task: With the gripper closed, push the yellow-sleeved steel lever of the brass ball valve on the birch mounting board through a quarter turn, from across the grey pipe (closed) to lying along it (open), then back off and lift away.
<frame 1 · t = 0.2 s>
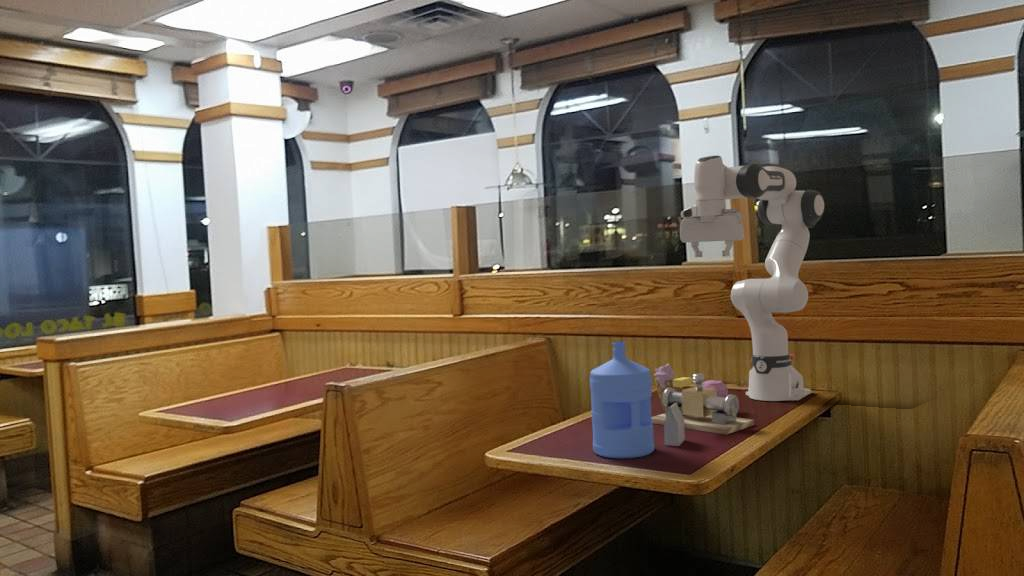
hand: (712, 256, 249), 48 cm above the table, tool pointing down, fingers open, 8 cm apart
cupcake: (713, 412, 255), on the table
ice cream cone: (665, 411, 259), on the table
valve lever: (689, 380, 236), point 13 cm above the table, hinge at 0.0°
water jug: (623, 452, 213), on the table
valve assembly: (700, 423, 239), on the table
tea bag: (674, 443, 219), on the table
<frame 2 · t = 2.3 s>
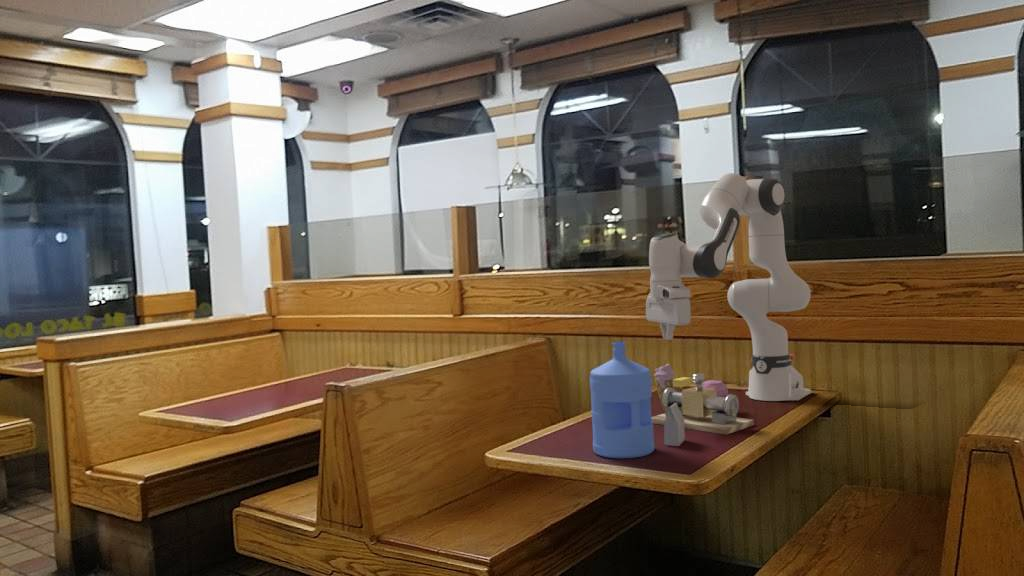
hand: (668, 338, 238), 25 cm above the table, tool pointing down, fingers closed
nothing on the table moved.
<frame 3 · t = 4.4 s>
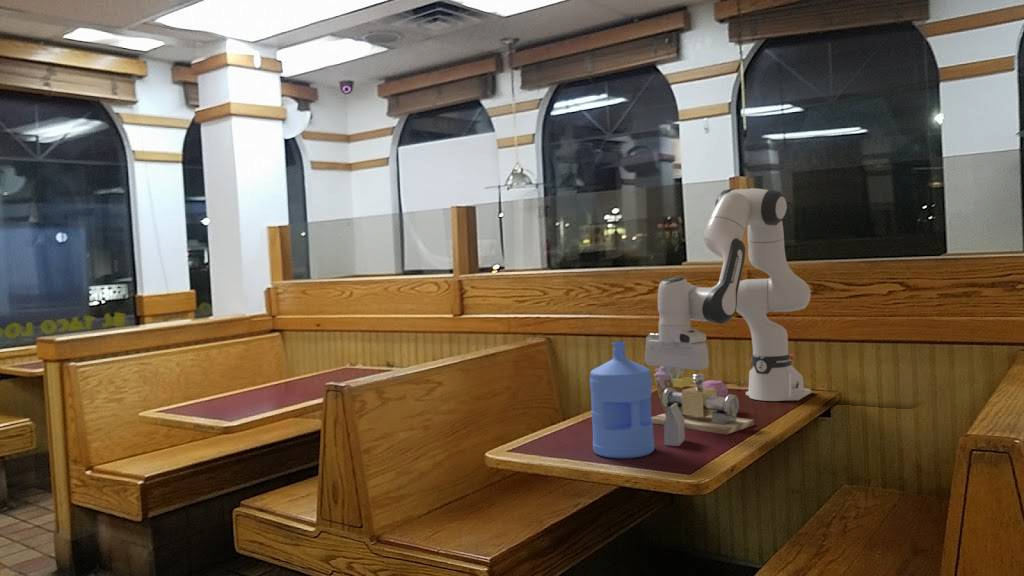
hand: (676, 383, 236), 13 cm above the table, tool pointing down, fingers closed
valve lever: (689, 380, 236), point 13 cm above the table, hinge at 0.2°, touching gripper
everything else where it was.
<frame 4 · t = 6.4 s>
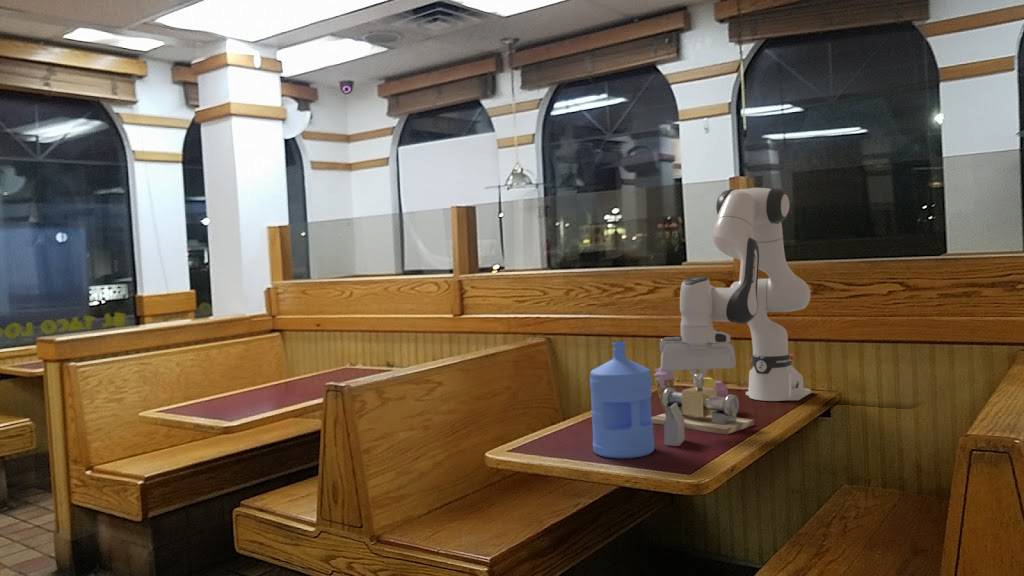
hand: (698, 385, 231), 13 cm above the table, tool pointing down, fingers closed
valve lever: (703, 380, 234), point 13 cm above the table, hinge at 52.1°, touching gripper
everything else where it was.
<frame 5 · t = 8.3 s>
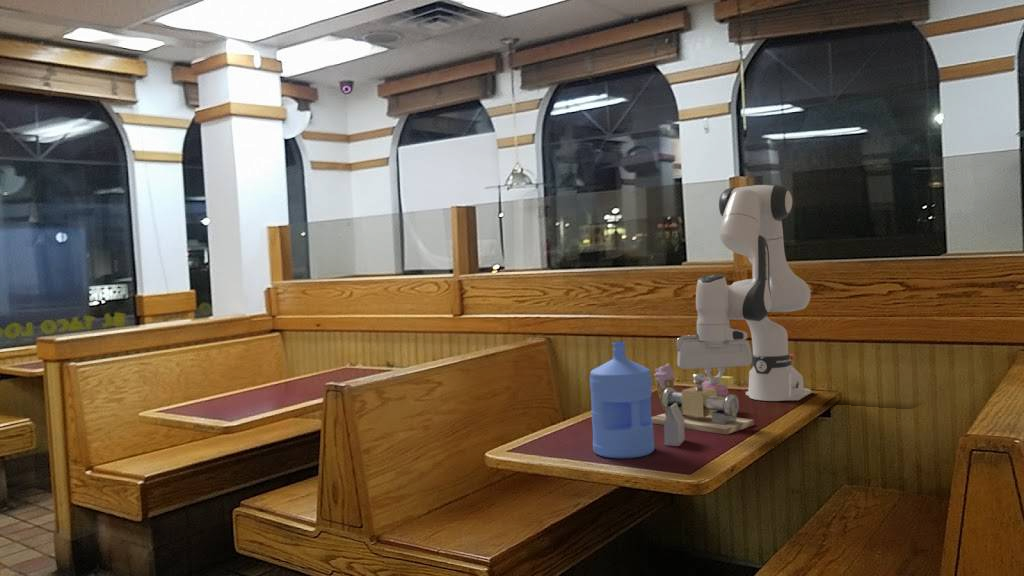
hand: (715, 383, 230), 13 cm above the table, tool pointing down, fingers closed
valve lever: (712, 379, 236), point 13 cm above the table, hinge at 91.3°
everything else where it was.
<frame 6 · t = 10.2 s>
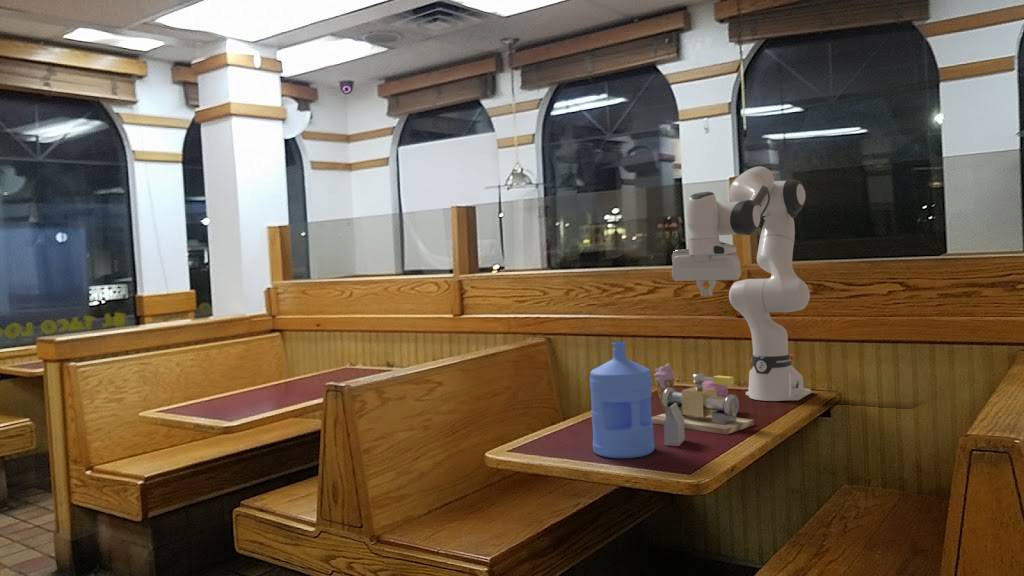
hand: (706, 295, 243), 36 cm above the table, tool pointing down, fingers closed
nothing on the table moved.
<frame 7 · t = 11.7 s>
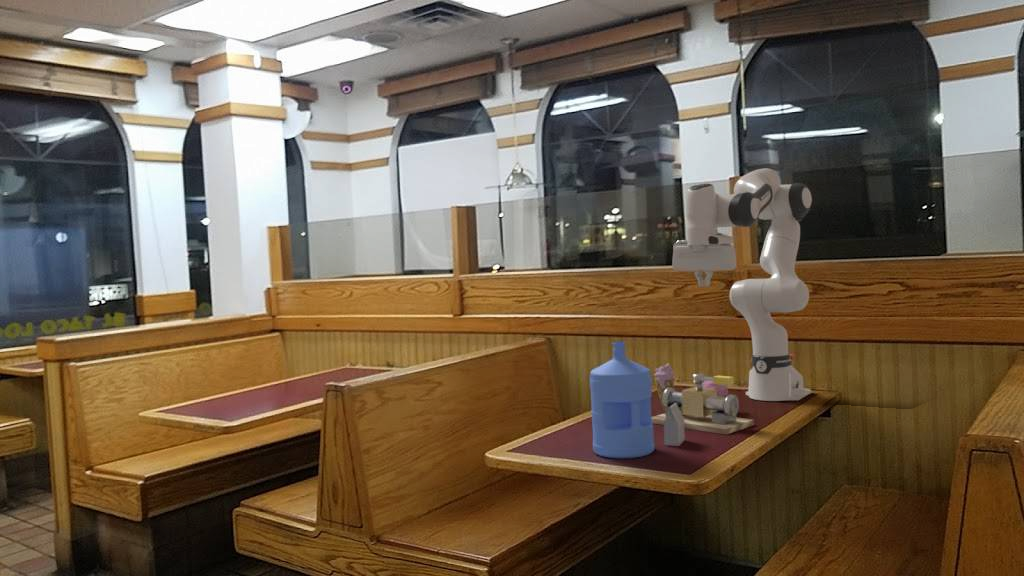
hand: (704, 286, 246), 39 cm above the table, tool pointing down, fingers closed
nothing on the table moved.
at the end: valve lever at +91° (first picture: +0°); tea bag moved 0.3 cm from its start; ice cream cone moved 0.2 cm from its start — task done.
